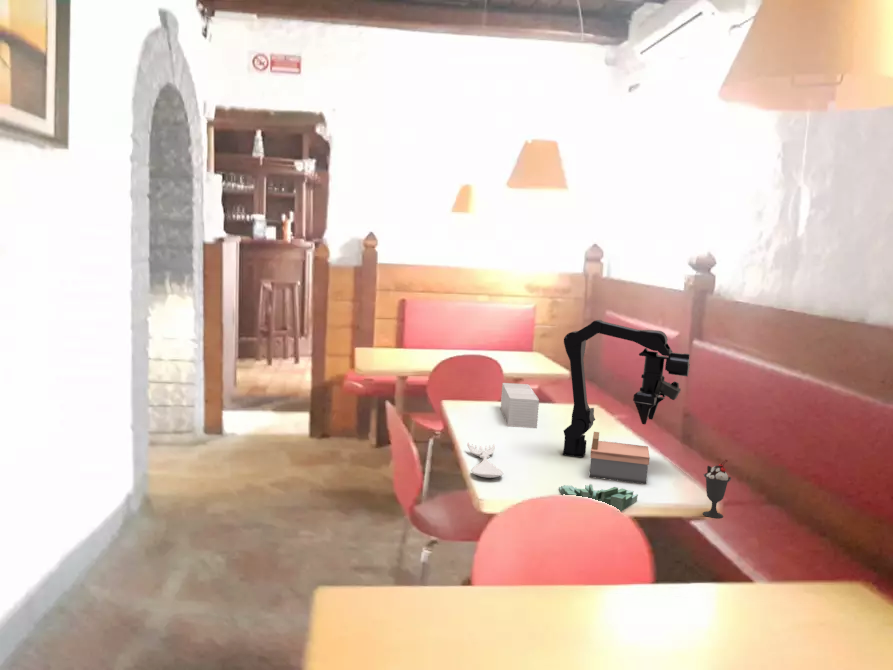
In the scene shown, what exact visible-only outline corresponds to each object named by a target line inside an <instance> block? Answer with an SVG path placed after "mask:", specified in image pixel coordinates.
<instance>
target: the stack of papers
mask: <svg viewBox="0 0 893 670" xmlns="http://www.w3.org/2000/svg"><path fill="white" fill-rule="evenodd" d="M501 384H502V386H501V397H500V398H501V399H500V411H501V413H502V416H503V419H504V421H505V423H506V426H507V428H508V427H511V428H523V429H525V428H526V429H537V428H538V420H539V419H538V418H539V407H540V406H539V405H540V399H539V397H538V396H537V395H536V393H535V392H534V390H533V389H532V387H531V386H530V384H527V383H513V382H512V383H511V382H510V383H509V382H502V383H501Z"/></svg>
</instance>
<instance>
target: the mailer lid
mask: <svg viewBox="0 0 893 670" xmlns="http://www.w3.org/2000/svg"><path fill="white" fill-rule="evenodd" d="M589 458H590V459H591V458H596V459H604V460H612V461H621V462H629V463H638V464H646V465H648V466H649V465H650V459H651V458H650V450H649V446H647V445H639V444H629V443H620V442H613V441H612V442H611V441H605V440H604V441H603V440H600V431H593V436H592V442H591V448H590V457H589Z"/></svg>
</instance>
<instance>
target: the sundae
mask: <svg viewBox="0 0 893 670" xmlns="http://www.w3.org/2000/svg"><path fill="white" fill-rule="evenodd" d="M727 462H728V459H725V460H724V461H723V463H719V464H718V465H715V466H710V465H707V468H706V469H707V470H706V471H707V472H706V473H703V477H705V485H706V489H705V491H706V497H707V498H708V499H709V501H710V502H711V507H710V510H707V511H704V512H703V513H702V515H703V516H705V517H707V518H709V519H717V520H718V519H722V518H724V515H723V514H721V513H719V512H718V510H717V504H718V503H719V502H721V501H722V500H723V499H724V496H725V493H726V491H727V486H728V484H729V482H730V481H731V480H732V477H731V476H729V474H728V473H727V472H726V471H727V470H726V468H725V467H724V465H725V463H727Z"/></svg>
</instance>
